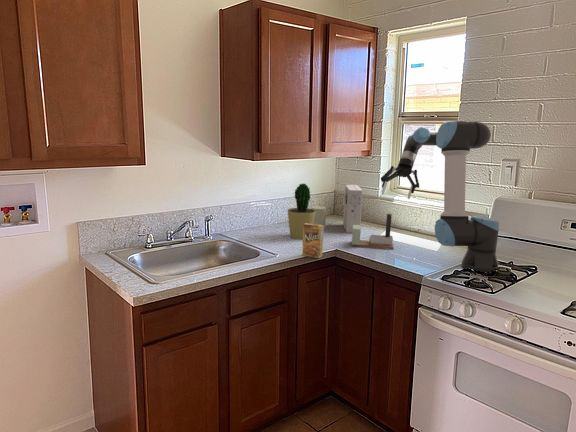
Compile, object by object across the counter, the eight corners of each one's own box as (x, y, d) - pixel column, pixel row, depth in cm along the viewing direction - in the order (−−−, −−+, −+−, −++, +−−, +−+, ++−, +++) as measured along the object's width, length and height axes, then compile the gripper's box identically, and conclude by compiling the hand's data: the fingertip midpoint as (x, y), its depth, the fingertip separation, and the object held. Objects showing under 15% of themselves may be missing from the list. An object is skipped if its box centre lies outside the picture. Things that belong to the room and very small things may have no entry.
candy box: (301, 255, 213) (303, 224, 210) (305, 253, 217) (306, 222, 214) (319, 258, 210) (320, 226, 207) (322, 256, 214) (324, 224, 211)
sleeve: (392, 245, 232) (392, 238, 231) (370, 244, 233) (370, 236, 233) (391, 243, 236) (392, 235, 235) (370, 241, 238) (370, 234, 237)
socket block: (359, 244, 231) (360, 229, 230) (351, 244, 232) (352, 229, 230) (359, 239, 241) (360, 225, 240) (352, 239, 242) (352, 224, 240)
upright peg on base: (391, 243, 233) (393, 214, 230) (369, 242, 234) (371, 213, 231) (390, 242, 235) (393, 213, 232) (369, 241, 237) (371, 212, 234)
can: (328, 225, 277) (329, 206, 275) (321, 228, 270) (322, 208, 267) (314, 223, 282) (315, 204, 280) (307, 226, 275) (308, 206, 272)
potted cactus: (298, 231, 260) (300, 179, 253) (320, 236, 250) (322, 182, 244) (280, 236, 248) (282, 182, 242) (303, 241, 238) (305, 185, 232)
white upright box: (359, 233, 261) (362, 190, 255) (346, 233, 261) (349, 189, 256) (355, 225, 282) (357, 185, 277) (342, 224, 282) (345, 184, 277)
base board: (393, 249, 229) (393, 247, 229) (351, 246, 232) (351, 244, 232) (392, 244, 239) (392, 242, 239) (351, 241, 242) (352, 239, 242)
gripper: (431, 169, 239) (420, 203, 231) (385, 162, 250) (373, 194, 242) (430, 160, 233) (419, 196, 225) (383, 154, 244) (371, 187, 236)
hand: (395, 195), depth 234 cm, fingers open, 13 cm apart
